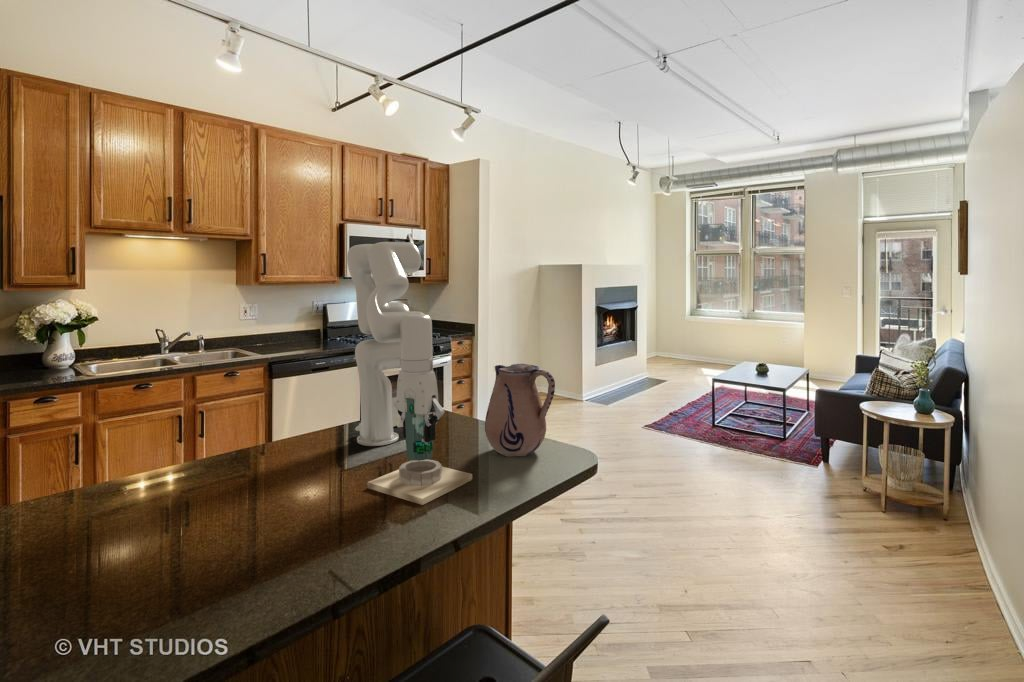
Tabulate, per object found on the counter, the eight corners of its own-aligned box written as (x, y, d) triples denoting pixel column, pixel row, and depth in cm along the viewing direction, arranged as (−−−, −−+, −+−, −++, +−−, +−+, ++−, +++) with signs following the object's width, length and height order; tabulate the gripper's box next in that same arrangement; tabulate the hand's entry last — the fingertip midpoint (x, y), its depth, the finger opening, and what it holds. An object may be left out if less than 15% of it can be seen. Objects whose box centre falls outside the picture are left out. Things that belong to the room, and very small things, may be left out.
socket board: (367, 488, 134) (366, 470, 133) (419, 466, 149) (419, 450, 148) (422, 505, 124) (422, 485, 123) (472, 479, 139) (472, 462, 138)
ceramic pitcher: (499, 440, 171) (499, 360, 168) (565, 448, 163) (565, 364, 160) (474, 458, 155) (473, 369, 152) (546, 467, 147) (546, 374, 144)
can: (421, 462, 131) (419, 400, 130) (402, 458, 134) (399, 397, 133) (437, 454, 137) (435, 395, 135) (418, 450, 140) (416, 392, 138)
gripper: (380, 365, 135) (383, 436, 137) (433, 371, 125) (435, 448, 127) (402, 360, 141) (404, 429, 143) (455, 366, 131) (456, 440, 133)
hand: (419, 437), depth 135 cm, fingers closed on can, 6 cm apart
